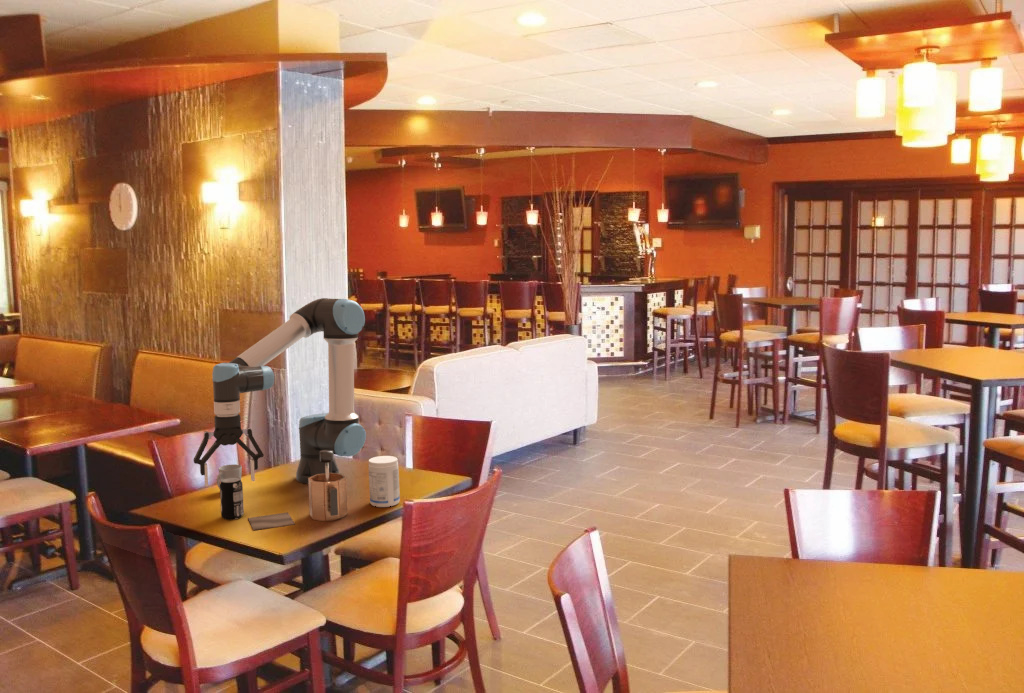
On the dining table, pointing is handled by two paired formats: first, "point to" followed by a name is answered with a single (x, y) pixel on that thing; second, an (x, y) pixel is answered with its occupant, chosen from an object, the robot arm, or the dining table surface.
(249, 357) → the robot arm
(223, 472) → the cup
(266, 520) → the gray-brown square tile
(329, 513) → the press carafe
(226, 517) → the beverage can
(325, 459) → the plunger
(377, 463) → the supplement tub
